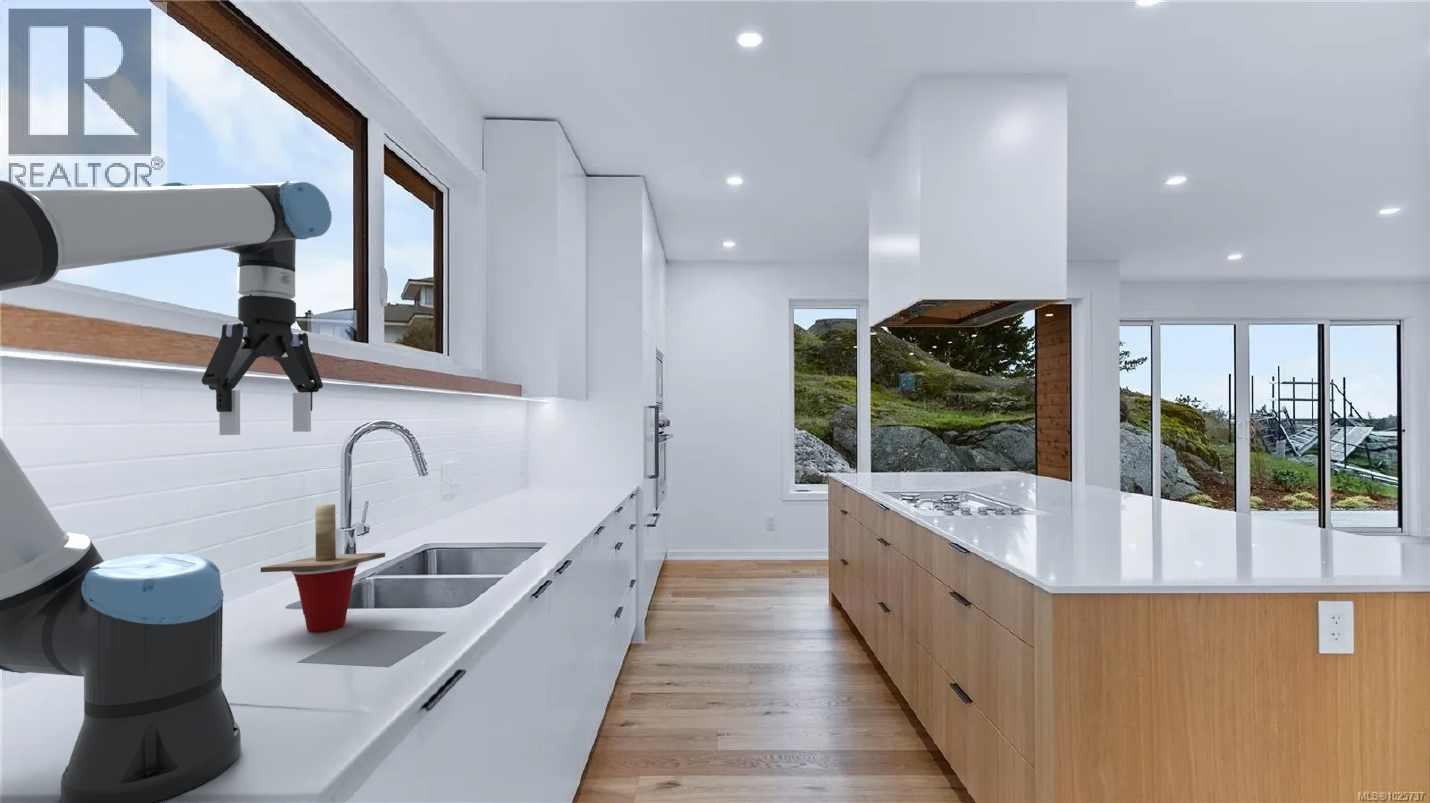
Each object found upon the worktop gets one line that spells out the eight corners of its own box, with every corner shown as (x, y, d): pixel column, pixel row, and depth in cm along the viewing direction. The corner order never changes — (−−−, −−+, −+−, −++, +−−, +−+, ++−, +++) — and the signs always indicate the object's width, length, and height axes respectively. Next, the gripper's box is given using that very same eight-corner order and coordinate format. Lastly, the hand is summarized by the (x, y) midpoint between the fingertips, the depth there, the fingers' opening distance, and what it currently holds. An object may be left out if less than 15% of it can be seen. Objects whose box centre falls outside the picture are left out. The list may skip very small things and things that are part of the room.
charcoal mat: (388, 669, 101) (388, 666, 101) (296, 664, 104) (296, 662, 104) (446, 634, 117) (446, 631, 117) (365, 630, 120) (365, 628, 120)
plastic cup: (357, 616, 128) (357, 554, 128) (362, 631, 119) (361, 565, 119) (291, 626, 122) (291, 562, 123) (291, 643, 113) (290, 574, 113)
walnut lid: (331, 569, 113) (331, 506, 114) (260, 572, 115) (260, 510, 116) (385, 556, 127) (384, 500, 128) (320, 559, 129) (320, 503, 130)
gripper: (216, 281, 90) (217, 436, 90) (345, 309, 115) (346, 430, 114) (169, 284, 91) (170, 436, 91) (307, 310, 116) (308, 430, 116)
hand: (268, 433), depth 103 cm, fingers open, 13 cm apart
